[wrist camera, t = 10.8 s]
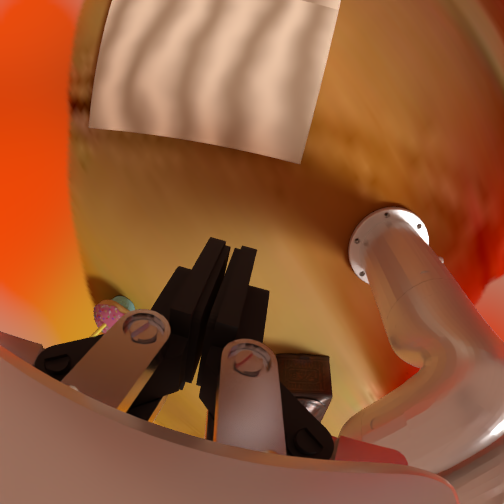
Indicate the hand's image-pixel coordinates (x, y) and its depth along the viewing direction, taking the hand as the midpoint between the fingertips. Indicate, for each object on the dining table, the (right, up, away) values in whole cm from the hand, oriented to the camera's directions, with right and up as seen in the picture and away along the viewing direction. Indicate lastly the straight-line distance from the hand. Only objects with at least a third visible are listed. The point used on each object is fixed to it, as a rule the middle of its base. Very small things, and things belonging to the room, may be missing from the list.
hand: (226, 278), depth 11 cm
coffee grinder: (+8, -22, +44) cm, 50 cm away
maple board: (-4, +29, +17) cm, 34 cm away
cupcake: (-23, -9, +41) cm, 48 cm away
